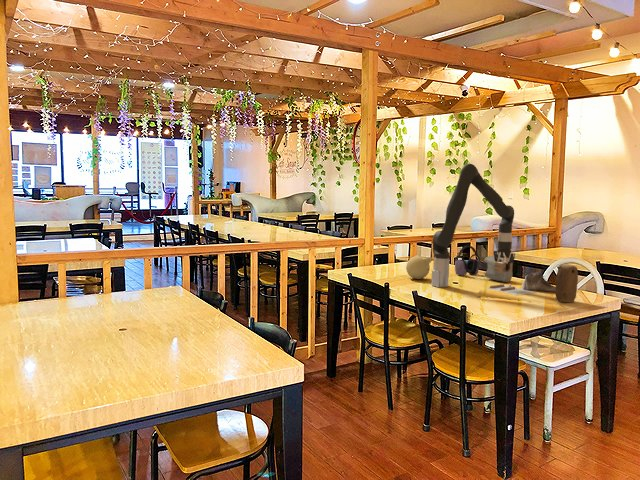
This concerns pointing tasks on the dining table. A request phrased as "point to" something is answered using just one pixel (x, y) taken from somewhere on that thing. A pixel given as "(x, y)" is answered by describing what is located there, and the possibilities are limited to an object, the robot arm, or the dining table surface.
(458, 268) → the headphones
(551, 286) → the shoe
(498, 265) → the reddish brown block
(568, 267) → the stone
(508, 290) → the panel
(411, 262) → the toy
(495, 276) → the decorative stone
